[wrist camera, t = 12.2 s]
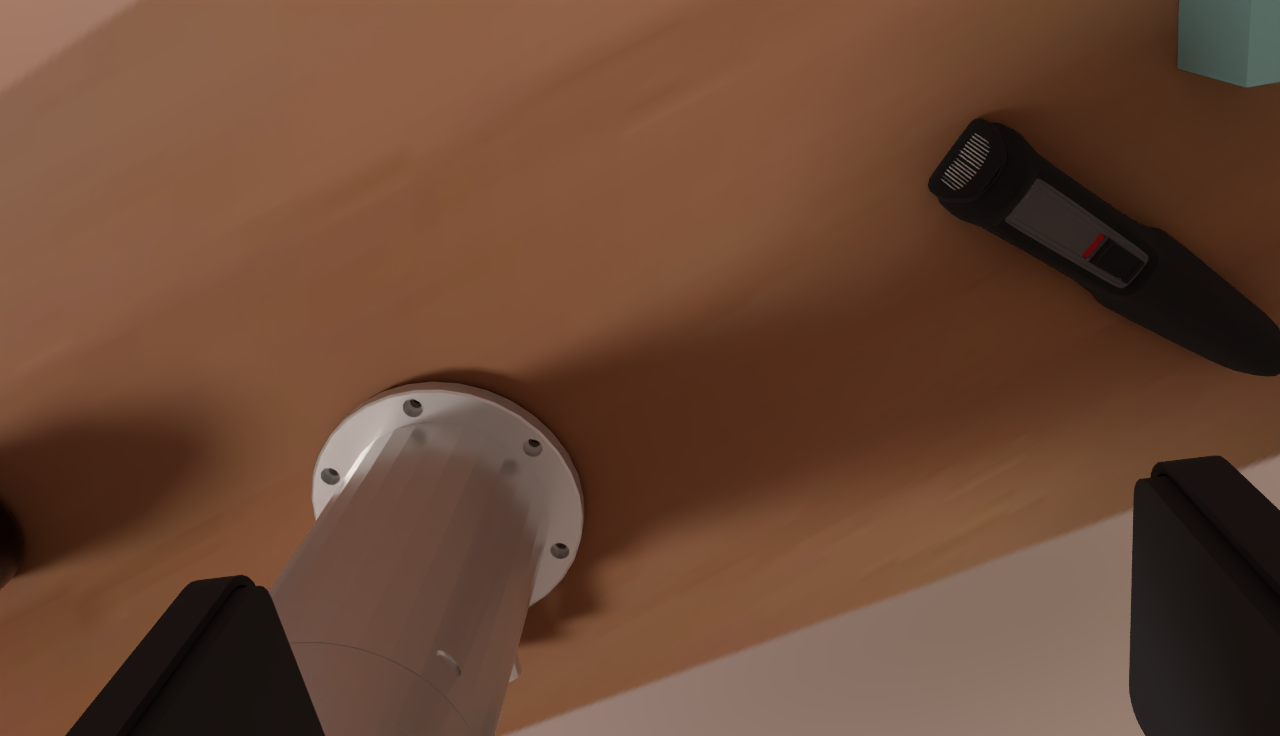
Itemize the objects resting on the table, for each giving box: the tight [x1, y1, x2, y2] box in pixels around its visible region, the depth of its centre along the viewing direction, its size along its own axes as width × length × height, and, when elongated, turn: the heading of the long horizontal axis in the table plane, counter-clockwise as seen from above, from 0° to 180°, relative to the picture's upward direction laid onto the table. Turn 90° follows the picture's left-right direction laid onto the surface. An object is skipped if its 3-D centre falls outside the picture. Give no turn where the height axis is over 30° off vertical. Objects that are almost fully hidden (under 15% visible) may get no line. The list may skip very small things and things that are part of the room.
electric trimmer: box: [928, 118, 1280, 376], centre depth 38 cm, size 4×16×3 cm, turn 59°
